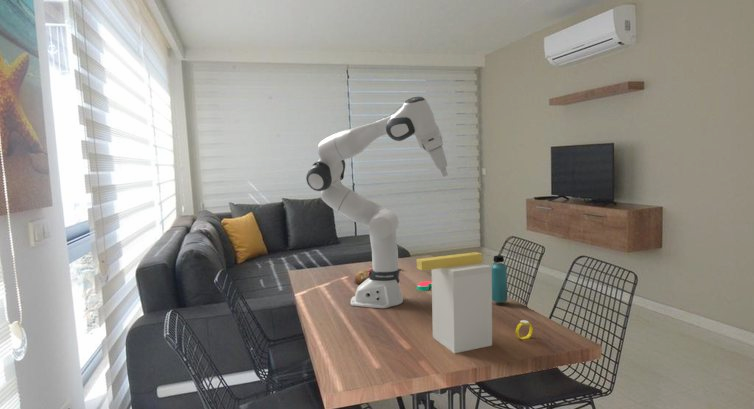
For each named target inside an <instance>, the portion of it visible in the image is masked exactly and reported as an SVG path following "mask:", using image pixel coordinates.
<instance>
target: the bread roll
mask: <svg viewBox="0 0 754 409" xmlns="http://www.w3.org/2000/svg"><path fill="white" fill-rule="evenodd" d="M368 278H369V277H368V270H366V269H365V270H364V269H363V270H359V271H357V273H356V274H355V277H354V283H355V284H356V285H357V286H359V285H360V284H361V283H363V282H364V281H365V280H366V279H368Z"/></svg>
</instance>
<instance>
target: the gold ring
mask: <svg viewBox="0 0 754 409" xmlns="http://www.w3.org/2000/svg"><path fill="white" fill-rule="evenodd" d="M522 326H528V327H529V328H528V329H529V331H528V334H527V335H525V336H520V329H521V327H522ZM533 332H534V329H533V325H532V324H531V323H530V322H529V321H528V320H525V319H522V320H519V323H518V324H517V325H516V328H515V335H516V337H517V339H520V340H522V341H523V340H529V339H530V338H531V337H532V335H533Z"/></svg>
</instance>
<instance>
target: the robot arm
mask: <svg viewBox="0 0 754 409" xmlns="http://www.w3.org/2000/svg"><path fill="white" fill-rule="evenodd" d="M385 135H388V137H389V138H390V139H392V140H393V141H397V142H402V141H404V140H406V139H408V138H410V137H411V136H413V135H415V138H416V141H417V142H418V145H419V148H421V149H423V150H425V151H426V153H428V155H429V156H430V158H431V160H432V161H433V163H434V165H435V167H436V168H437V169H438V170H440V172H441V174H442V176H443V177H446V176H448V171H447V168H446V167H448V162H447V158H446V155H445V150H444V148H443V145H444V144H443V139H444V138H443V135H442V133H441V130H440V128H439V125H438V124H437V123H436V121H435V115H434V113H433V110H432V109H431V106H430V104H429V102H428V101H427V100H426V98H424V97H423V96H414V97H411V98H408V99H406V100H405V101H404V102H403V104H402V105H400V106H399V108H397V109H396V110H395V111H394V112H393V113H392V114H389V115H387V116H385V117H382V118H380V119H378V120H375V121H372V122H369V123H367V124H364V125H359V126H356V127H351V128H348V129H345V130H341V131H337V132H335V133H333V134H331V135H329V136H327V137H325V138H324V139H322V140H320V141H319V143H318V145H317V153H318V156H319V159H318V160H317V161H314V163H313V164H312V165H311V167H310V168H309V169H308V171H307V174H306V176H305V177H306V180H305V181H306V184H307V185H308V186H309V188H310V189H312V190H313V191H315V192H320V199H321V200H322V201H323V202H324V203H325V204H326V205H327V206H329V207H330V208H331V209H333V210H334V211H336V212H337V213H339V214H341V215H342V216H344V217H346V218H348V219H349V220H351V221H352V222H354V223H358V224H360V225H362V226H364V227H367V228H368V231H369V232H368V233H369V240H370V247H371V248H370V249H371V259H372V260H371V262H372V263H371V264H372V267H370V268H368V270H367V271H368V277H369V278H368V279H366V280H365V281H364V282H363V283H361V284H360V285H357V286H358V287H357V288H356V290H355V295H354V296H352V297H351V298H350V305H351V306H353V307H363V308H364V307H365V308H372V309H373V308H374V309H375V308H376V309H387V308H390V307H394V306H398V305H401V304H402V303H403V302H404V298H403V295H402V292H401V286H400V281H401V273H400V268H399V250H398V244H397V242H398V241H397V229H398V227H399V223H400V222H399V218H398V216H397V214H396V213H395V212H394V211H392V210H390V209H388V208H386V207H385V206H382V205H381V204H378V203H375V202H374V201H371V200H369V199H368V198H366V197H364V196H362V195H361V194H359V193H357V192H355V191H354V190H352V189H351V188H349V187H347V186H345V185H344V184H343V183H342V180H344V178H345V176H344V175H345V171H346V161H345V160H347V159H350V158H354V157H356V156H357V155H359V154H360V153H362V152H363V151H365V149H366V148H368V146H370V145H371V143H373V142H374V141H375V140H376V139H378V138H380V137H382V136H385Z"/></svg>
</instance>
